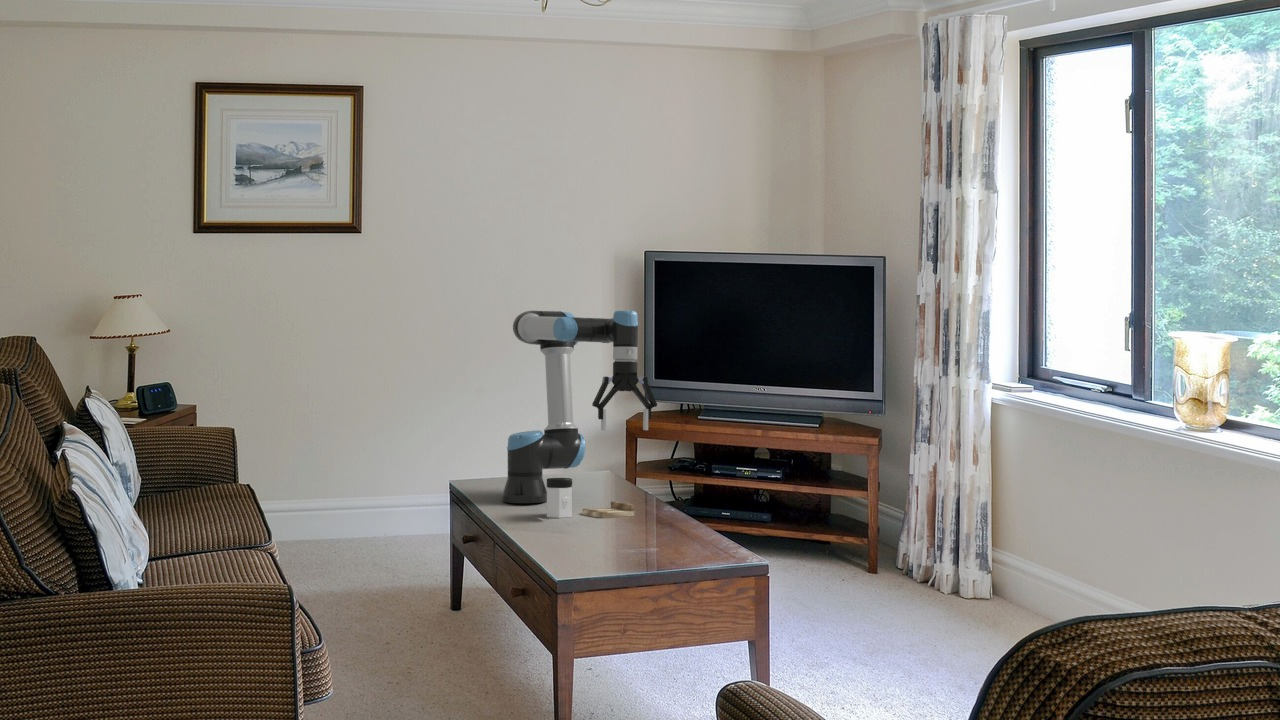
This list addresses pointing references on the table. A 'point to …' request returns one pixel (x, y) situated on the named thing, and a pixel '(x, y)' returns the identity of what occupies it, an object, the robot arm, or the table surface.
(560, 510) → the jar
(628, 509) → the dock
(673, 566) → the table surface
